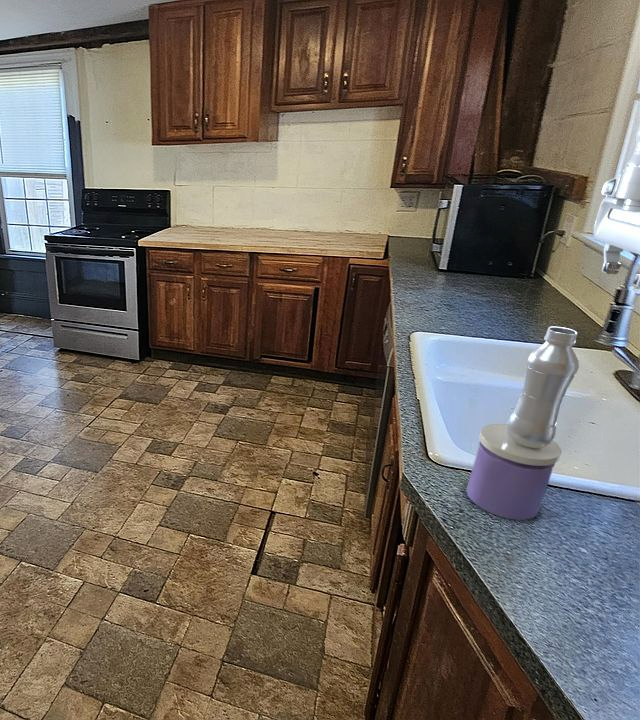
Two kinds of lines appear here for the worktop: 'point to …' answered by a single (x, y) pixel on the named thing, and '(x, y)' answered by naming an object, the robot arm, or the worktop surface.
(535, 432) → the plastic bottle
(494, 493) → the jar
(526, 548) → the worktop surface
